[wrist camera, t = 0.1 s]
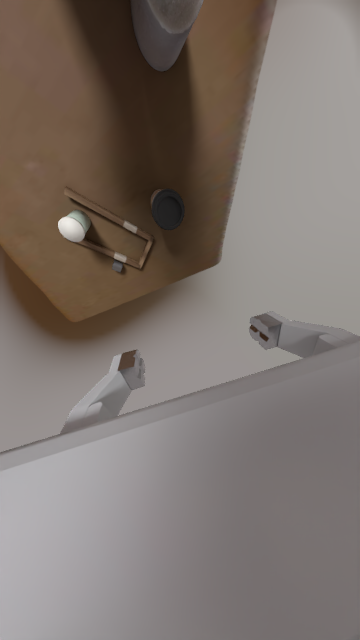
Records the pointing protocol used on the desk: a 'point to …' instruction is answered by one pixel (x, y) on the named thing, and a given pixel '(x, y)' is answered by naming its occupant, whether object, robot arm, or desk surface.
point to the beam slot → (117, 219)
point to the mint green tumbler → (74, 225)
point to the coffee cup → (167, 208)
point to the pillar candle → (163, 28)
